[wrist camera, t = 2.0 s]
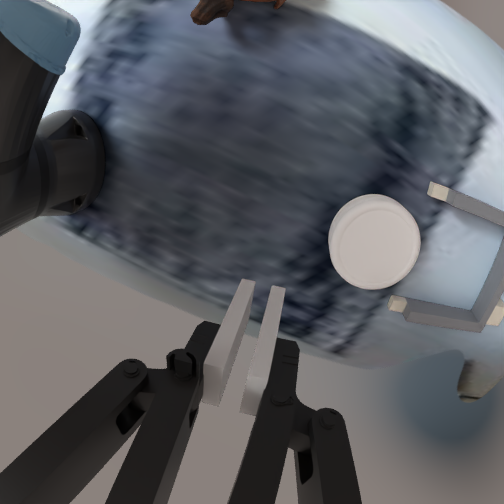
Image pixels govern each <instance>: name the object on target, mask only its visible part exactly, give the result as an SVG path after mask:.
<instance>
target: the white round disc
mask: <svg viewBox="0 0 504 504" xmlns="http://www.w3.org/2000/svg"><path fill="white" fill-rule="evenodd" d="M328 243H329V250H330V257H331V260H332V263H333V265H334V268H335V269H336V271H337V272H338V273H339V274H340V276H341V277H342V278H343V279H345V280H346V281H347V282H348V283H350V284H352V285H354V286H356V287H359V288H363V289H372V290H374V289H382V288H386V287H389V286H391V285H393V284H395V283H397V282H399V281H400V280H401V279H403V278H404V277H405V276H406V275H407V274H408V273H409V272H410V270H411V269H412V267H413V266H414V264H415V262H416V260H417V258H418V255H419V251H420V244H421V242H420V232H419V228H418V225H417V223H416V221H415V219H414V218H413V216H412V215H411V214H410V213H409V211H408V210H406V209H405V208H404V207H403V206H402V205H401V204H400V203H398V202H397V201H395V200H394V199H392V198H390V197H387V196H384V195H379V194H368V195H363V196H360V197H357V198H355V199H353V200H351V201H349V202H348V203H346V204H345V205H344V206H343V207H342V208H341V209H340V210H339V211H338V213H337V214H336V216H335V217H334V219H333V221H332V224H331V226H330V230H329V237H328Z"/></svg>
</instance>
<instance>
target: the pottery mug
mask: <svg viewBox="0 0 504 504" xmlns="http://www.w3.org/2000/svg"><path fill="white" fill-rule="evenodd" d="M241 1H252V2H271V1H276V4H275V6H274V9H278V8H279V7H280V6H281V5H282V4H283V3H284V2H285V1H286V0H241ZM233 3H234V0H200V2H199V3H198V5H197V6H196V7H195V9H194V10H193V11H192V12H191V15H190V16H191V18H192V19H193V22H194V23H196V24H197V25H207V24H208V23H210V22H211V21H213V20H214V19H216V18H219V17H227V15H228V12H229V11H230V10H231V9H232V8H233V6H234V4H233Z"/></svg>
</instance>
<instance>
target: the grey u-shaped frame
mask: <svg viewBox="0 0 504 504" xmlns="http://www.w3.org/2000/svg"><path fill="white" fill-rule="evenodd" d="M427 194H428V195H429V196H431V197H434V198H437V199H440V200H442V201H445V202H447V203H448V204H450V205H452V206H454V207H456V208H459V209H462V210H464V211H467V212H469V213H472V214H474V215H477V216H479V217H482V218H484V219H487V220H489V221H491V222H494V223H496V224H498V225H501V226H503V227H504V212H503V211H501V210H499V209H497V208H495V207H493V206H491V205H488V204H486V203H484V202H482V201H479V200H477V199H475V198H472V197H470V196H468V195H465V194H463V193H460V192H458V191H455V190H453V189H450V188H448V187H445V186H442V185H440V184H437V183H434V182H431V181H430V185H429V189H428V192H427ZM503 291H504V237H503V240H502V243H501V246H500V248H499V251H498V253H497V256H496V258H495V261H494V263H493V266H492V268H491V270H490V272H489V275H488V277H487V279H486V281H485V284H484V286H483V288H482V290H481V292H480V294H479V296H478V298H477V300H476V302H475V304H474V306H473V308H472V309H471V311H470V310H465V309H460V308H455V307H450V306H445V305H440V304H435V303H430V302H425V301H420V300H415V299H410V298H405V297H400V296H395V295H391V297H390V299H389V302H388V304H387V306H388V308H389V310H391V311H397V312H402V313H403V315H404V317H405V320H406V321H408V322H414V323H420V324H426V325H432V326H438V327H445V328H451V329H458V330H465V331H472V332H479V333H481V331H482V330H483V328H484V326H485V324H488V325H495V326H498V325H499V324H500V322H501V320H502V318H503V317H504V303H503V302H502V300H501V299H500V297H501V295H502V293H503Z"/></svg>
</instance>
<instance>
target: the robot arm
mask: <svg viewBox="0 0 504 504" xmlns="http://www.w3.org/2000/svg"><path fill="white" fill-rule="evenodd" d="M80 32H81V28H80V24H79V22H78V20H77V19H76V18H75V17H74V16H73V15H71V14H69V13H68V12H66V11H65V10H63V9H61V8H60V7H58V6H56V5H54V4H52V3H50V2H48V1H46V0H0V236H2V235H4V234H6V233H7V232H9V231H11V230H13V229H15V228H17V227H19V226H20V225H22V224H24V223H26V222H28V221H30V220H32V219H34V218H36V217H39V216H65V215H71V214H74V213H77V212H79V211H81V210H83V209H85V208H87V207H88V206H89V205H90V204H91V203H92V202H93V201H94V200H95V198H96V197H97V195H98V193H99V191H100V189H101V186H102V182H103V178H104V173H105V151H104V145H103V141H102V138H101V135H100V132H99V130H98V128H97V126H96V125H95V123H94V122H93V120H92V119H91V118H90V117H89V116H88V115H86V114H85V113H83V112H81V111H78V110H61V111H57V112H54V113H52V114H50V115H48V116H46V117H44V118H42V115H43V113H44V110H45V108H46V106H47V103H48V101H49V99H50V96H51V94H52V92H53V90H54V87H55V85H56V83H57V81H58V79H59V77H60V75H62V74H63V73H64V72H65V69H66V66H65V65H66V63H67V61H68V59H69V57H70V55H71V53H72V51H73V49H74V47H75V45H76V43H77V41H78V39H79V37H80ZM41 118H42V119H41ZM254 287H255V281H251V280H247V279H242V280H241V282H240V284H239V287H238V289H237V291H236V293H235V295H234V298H233V300H232V302H231V304H230V306H229V309H228V311H227V313H226V315H225V317H224V320H223V322H222V324H221V325H219V324H215V323H212V322H208V321H204V322H202V323H201V324H199V325H198V326H197V327H196V329H195V331H194V332H193V335H192V336H191V338H190V340H189V341H188V343H187V345H186V347H185V349H175V350H173V351H172V352H170V353H169V354H168V355H167V356H166V359H167V368H166V369H151V368H147V367H146V365H145V364H144V363H143V362H142V361H140V360H137V359H126V360H124V361H122V362H120V363H119V364H118V365H117V366H116V367H115V368H113V370H111V371H110V372H109V373H108V374H107V375H106V376H105V377H104V378H103V379H101V380H100V381H99V382H98V383H97V384H96V385H95V386H94V387H93V388H92V389H90V390H89V391H88V392H87V393H86V394H85V395H84V396H83V397H82V398H81V399H80V400H79V401H77V402H76V403H75V404H74V405H73V406H72V407H71V408H70V409H69V410H68V411H67V412H66V413H64V414H63V415H62V416H61V417H60V418H59V419H58V420H57V421H56V422H55V423H54V424H53V425H51V426H50V427H49V428H48V429H47V430H46V431H45V432H44V433H43V434H42V435H41V436H40V437H39V438H38V439H36V440H35V441H34V442H33V443H32V444H31V445H30V446H29V447H28V448H27V449H26V450H25V451H24V452H22V453H21V454H20V455H19V456H18V457H17V458H16V459H15V460H14V461H13V462H12V463H11V464H10V465H9V466H8V467H7V468H6V469H4V470H3V472H1V473H0V504H69V503H70V502H71V501H72V500H73V499H74V498H75V497H76V496H77V495H78V494H79V493H80V492H81V491H82V490H83V488H84V487H85V486H86V485H87V484H88V483H89V482H90V481H91V480H92V479H93V477H94V476H95V475H96V474H97V473H98V472H99V471H100V470H101V469H102V468H103V467H104V465H105V464H106V463H107V462H108V461H109V460H110V459H111V458H112V456H113V455H114V454H115V453H116V452H117V451H118V450H119V449H120V447H121V446H122V445H123V444H124V443H125V442H126V441H127V440H128V438H129V437H130V436H131V435H132V434H133V433H134V432H135V430H136V429H137V428H138V427H139V426H140V425H141V426H140V428H139V430H138V432H137V434H136V436H135V439H134V441H133V443H132V445H131V447H130V449H129V451H128V454H127V456H126V458H125V460H124V462H123V464H122V467H121V469H120V471H119V473H118V476H117V478H116V480H115V482H114V484H113V487H112V489H111V491H110V493H109V496H108V498H107V500H106V503H105V504H167V503H168V500H169V497H170V493H171V491H172V488H173V485H174V482H175V479H176V476H177V473H178V470H179V467H180V464H181V461H182V458H183V455H184V452H185V450H186V447H187V444H188V441H189V437H190V435H191V432H192V429H193V426H194V423H195V420H196V417H197V414H198V409H199V403H200V401H201V399H202V402H203V403H207V404H211V405H214V406H219V404H220V401H221V398H222V396H223V393H224V390H225V387H226V384H227V381H228V378H229V375H230V373H231V370H232V366H233V364H234V361H235V358H236V355H237V352H238V349H239V346H240V344H241V341H242V337H243V335H244V332H245V329H246V326H247V323H248V320H249V315H250V309H251V304H252V298H253V293H254ZM284 294H285V288H282V287H278V286H273V285H272V287H271V291H270V295H269V299H268V303H267V306H266V310H265V314H264V318H263V322H262V325H261V329H260V333H259V336H258V340H257V344H256V348H255V351H254V355H253V358H252V362H251V365H250V369H249V373H248V377H247V381H246V385H245V389H244V394H243V398H242V402H241V407H240V412H241V413H245V414H249V415H253V416H256V418H255V422H254V425H253V428H252V431H251V435H250V437H249V441H248V444H247V447H246V450H245V453H244V457H243V459H242V462H241V465H240V468H239V471H238V474H237V477H236V480H235V483H234V486H233V489H232V492H231V494H230V497H229V500H228V503H227V504H275V500H276V496H277V492H278V488H279V484H280V480H281V476H282V471H283V467H284V463H285V458H286V454H287V449H288V447H289V448H291V449H293V450H294V458H295V469H296V480H297V492H298V504H362V502H361V496H360V491H359V486H358V481H357V476H356V471H355V466H354V461H353V457H352V452H351V448H350V443H349V438H348V434H347V430H346V425H345V421H344V419H343V417H342V415H341V414H340V413H339V412H338V411H336V410H334V409H331V408H323V409H319V410H318V411H315V410H313V409H311V408H309V407H307V406H305V405H304V404H302V403H301V402H300V401H299V399H298V398H297V396H296V381H297V372H298V362H299V352H300V349H299V347H298V345H297V343H296V342H295V341H290V340H286V339H281V338H277V333H278V327H279V322H280V316H281V311H282V305H283V300H284Z"/></svg>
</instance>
